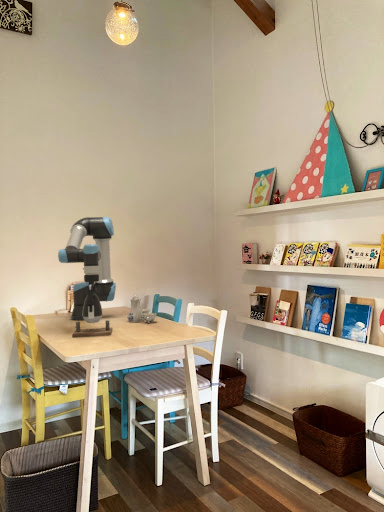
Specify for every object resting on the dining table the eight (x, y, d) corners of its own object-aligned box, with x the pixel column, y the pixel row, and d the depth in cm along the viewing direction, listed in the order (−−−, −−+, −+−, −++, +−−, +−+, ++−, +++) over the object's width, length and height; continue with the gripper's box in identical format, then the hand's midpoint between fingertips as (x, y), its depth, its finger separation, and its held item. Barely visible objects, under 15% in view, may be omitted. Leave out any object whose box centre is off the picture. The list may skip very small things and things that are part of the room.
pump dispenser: (85, 324, 202) (84, 294, 201) (80, 321, 211) (79, 292, 211) (105, 322, 206) (104, 293, 206) (99, 319, 216) (99, 291, 215)
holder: (76, 332, 214) (76, 320, 214) (112, 330, 217) (112, 318, 216) (72, 337, 201) (71, 324, 201) (110, 335, 204) (110, 322, 204)
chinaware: (160, 326, 235) (162, 297, 236) (133, 325, 229) (135, 296, 229) (146, 318, 261) (148, 293, 261) (121, 318, 254) (123, 292, 255)
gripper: (87, 273, 219) (88, 313, 219) (80, 275, 197) (81, 320, 197) (101, 272, 220) (102, 313, 220) (96, 275, 198) (97, 320, 198)
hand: (92, 316), depth 209 cm, fingers closed on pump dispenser, 10 cm apart
